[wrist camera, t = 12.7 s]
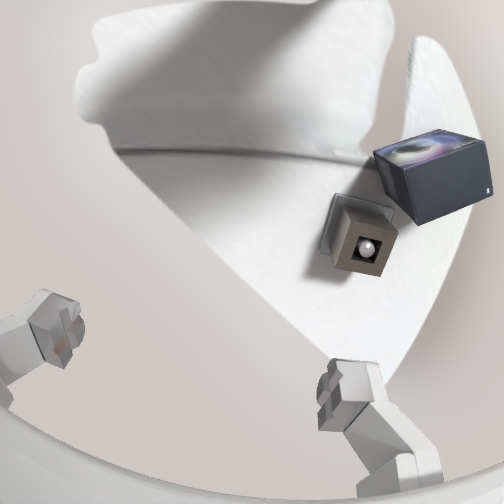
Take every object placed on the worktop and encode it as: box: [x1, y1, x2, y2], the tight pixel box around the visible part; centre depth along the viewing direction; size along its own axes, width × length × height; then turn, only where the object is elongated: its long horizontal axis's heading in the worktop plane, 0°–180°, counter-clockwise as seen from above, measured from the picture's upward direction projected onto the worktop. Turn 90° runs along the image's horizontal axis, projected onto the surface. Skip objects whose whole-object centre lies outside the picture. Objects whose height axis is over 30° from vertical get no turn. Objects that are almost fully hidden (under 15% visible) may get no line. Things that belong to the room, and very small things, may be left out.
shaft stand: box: [319, 193, 394, 257], centre depth 34 cm, size 8×8×6 cm
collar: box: [329, 205, 398, 277], centre depth 34 cm, size 6×6×5 cm
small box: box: [373, 129, 494, 226], centre depth 27 cm, size 11×6×10 cm, turn 116°
